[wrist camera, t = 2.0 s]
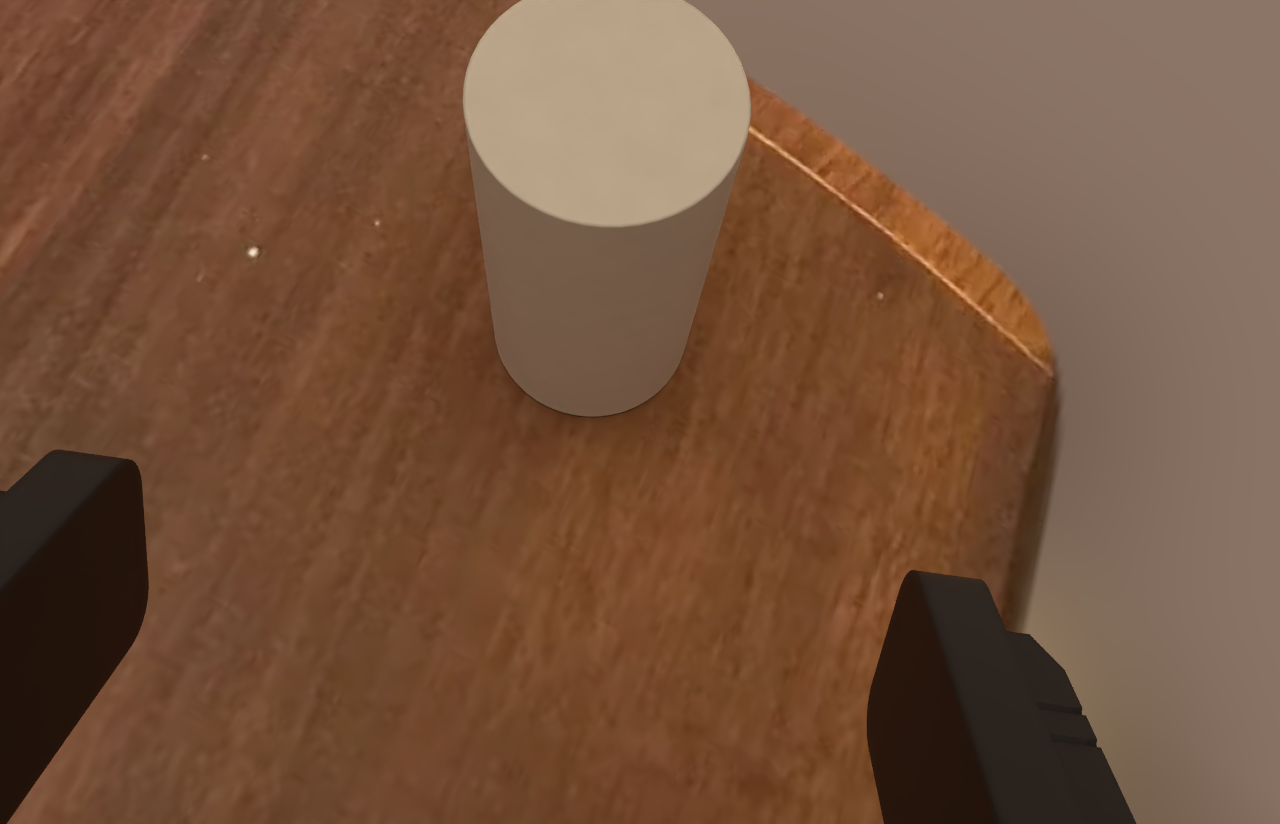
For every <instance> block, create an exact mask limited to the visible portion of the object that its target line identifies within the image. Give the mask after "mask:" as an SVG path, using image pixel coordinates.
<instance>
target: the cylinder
mask: <svg viewBox="0 0 1280 824" xmlns="http://www.w3.org/2000/svg"><path fill="white" fill-rule="evenodd" d="M463 111H464V119H465V126H466V134H467V141H468V148H469V155H470V162H471V170H472V177H473V184H474V191H475V198H476V206H477V213H478V220H479V227H480V234H481V241H482V249H483V256H484V263H485V270H486V277H487V285H488V292H489V299H490V306H491V313H492V321H493V328H494V335H495V342H496V346H497V349H498V353H499V356H500V358H501V360H502V362H503V365H504V366H505V368H506V370H507V371H508V373H509V375H510V376H511V377H512V378H513V380H514V381H515V382H516V383H517V385H518V386H519V387H521V388H522V389H523V390H524V391H525V392H526V393H527V394H528V395H530V396H531V397H532V398H534V399H535V400H537V401H538V402H540V403H542V404H544V405H546V406H547V407H550V408H552V409H555V410H557V411H560V412H564V413H568V414H572V415H578V416H606V415H613V414H617V413H620V412H624V411H627V410H629V409H632V408H634V407H637V406H638V405H640V404H642V403H644V402H645V401H647V400H649V399H650V398H651V397H653V396H654V395H655V394H657V393H658V392H659V391H660V390H661V389H662V388H663V387H664V386H665V385H666V384H667V382H668V381H669V380H670V378H671V377H672V376H673V374H674V373H675V371H676V369H677V367H678V366H679V364H680V361H681V359H682V356H683V353H684V350H685V347H686V343H687V340H688V337H689V333H690V330H691V326H692V323H693V320H694V316H695V313H696V309H697V306H698V303H699V299H700V296H701V292H702V289H703V286H704V282H705V279H706V275H707V272H708V269H709V265H710V262H711V258H712V255H713V252H714V248H715V245H716V241H717V238H718V235H719V231H720V228H721V224H722V221H723V218H724V214H725V211H726V207H727V204H728V201H729V197H730V194H731V190H732V187H733V184H734V180H735V177H736V173H737V170H738V167H739V163H740V160H741V156H742V153H743V150H744V146H745V143H746V139H747V135H748V131H749V127H750V117H751V101H750V91H749V86H748V82H747V77H746V75H745V72H744V69H743V67H742V64H741V62H740V59H739V58H738V56H737V54H736V52H735V50H734V49H733V46H732V45H731V44H730V43H729V41H728V40H727V38H726V37H725V35H724V34H723V33H722V32H721V31H720V30H719V29H718V27H717V26H716V25H715V24H714V23H713V22H712V21H711V20H710V19H709V18H707V17H706V16H705V15H704V14H703V13H701V12H700V11H699V10H698V9H696V8H695V7H693V6H692V5H690V4H689V3H687V2H686V1H684V0H521V1H520V2H518V3H516V4H515V5H513V6H512V7H511V8H510V9H508V10H507V11H506V12H505V13H503V14H502V15H501V16H500V17H499V18H498V19H497V20H496V21H495V22H494V23H493V24H492V25H491V26H490V27H489V29H488V30H487V31H486V33H485V34H484V36H483V37H482V38H481V40H480V41H479V43H478V45H477V47H476V49H475V51H474V52H473V54H472V56H471V59H470V62H469V65H468V68H467V71H466V75H465V80H464V86H463Z"/></svg>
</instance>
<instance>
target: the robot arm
mask: <svg viewBox="0 0 1280 824" xmlns="http://www.w3.org/2000/svg"><path fill="white" fill-rule="evenodd" d="M148 589H149V585H148V567H147V552H146V538H145V523H144V508H143V493H142V481H141V475H140V471H139V469H138V466H137V465H136V463H135V462H134V461H132V460H129V459H123V458H116V457H109V456H101V455H94V454H87V453H80V452H73V451H65V450H53V451H51V452H49V453H48V454H47V455H45V456H44V457H43V458H42V459H41V460H40V461H39V462H38V463H37V464H36V465H35V466H34V467H33V468H31V469H30V470H29V471H28V472H27V473H26V474H25V475H24V476H23V477H22V478H21V479H20V480H19V481H17V482H16V483H15V484H14V485H13V486H12V487H11V488H10V489H9V490H8V491H7V492H6V491H0V824H7V822H8V821H9V819H10V818H11V817H12V815H13V814H14V812H15V811H16V809H17V808H18V807H19V805H20V804H21V802H22V801H23V800H24V798H25V797H26V795H27V794H28V792H29V791H30V790H31V788H32V787H33V785H34V784H35V782H36V781H37V780H38V778H39V777H40V775H41V774H42V773H43V771H44V770H45V768H46V767H47V765H48V764H49V763H50V761H51V760H52V758H53V757H54V755H55V754H56V753H57V751H58V750H59V748H60V747H61V746H62V744H63V743H64V741H65V740H66V738H67V737H68V736H69V734H70V733H71V731H72V730H73V728H74V727H75V726H76V724H77V723H78V721H79V720H80V719H81V717H82V716H83V714H84V713H85V711H86V710H87V709H88V707H89V706H90V704H91V703H92V701H93V700H94V699H95V697H96V696H97V694H98V693H99V692H100V690H101V689H102V687H103V686H104V684H105V683H106V682H107V680H108V679H109V677H110V676H111V674H112V673H113V672H114V670H115V669H116V667H117V666H118V665H119V663H120V662H121V660H122V659H123V657H124V656H125V655H126V653H127V652H128V650H129V649H130V647H131V646H132V644H133V643H134V641H135V639H136V637H137V635H138V633H139V630H140V628H141V625H142V622H143V619H144V615H145V611H146V606H147V600H148ZM867 740H868V747H869V752H870V757H871V762H872V767H873V772H874V777H875V782H876V786H877V791H878V796H879V801H880V806H881V811H882V816H883V820H884V824H1136V822H1135V820H1134V818H1133V815H1132V813H1131V812H1130V809H1129V807H1128V805H1127V803H1126V801H1125V798H1124V796H1123V794H1122V792H1121V790H1120V788H1119V786H1118V783H1117V781H1116V779H1115V777H1114V775H1113V773H1112V771H1111V768H1110V766H1109V764H1108V762H1107V760H1106V758H1105V756H1104V754H1103V751H1102V749H1101V748H1098V747H1097V746H1096V742H1097V739H1096V736H1095V734H1094V732H1093V730H1092V728H1091V726H1090V723H1089V721H1088V719H1087V717H1086V716H1085V715H1082V706H1081V704H1080V702H1079V700H1078V698H1077V696H1076V693H1075V691H1074V689H1073V687H1072V685H1071V683H1070V681H1069V679H1068V676H1067V674H1066V672H1065V670H1064V669H1063V668H1062V667H1061V666H1060V665H1059V664H1058V663H1057V662H1056V661H1055V660H1054V659H1053V658H1052V657H1051V656H1050V655H1049V654H1048V653H1047V652H1046V651H1045V650H1044V649H1043V648H1042V647H1041V646H1040V645H1039V644H1038V643H1037V642H1036V641H1035V640H1034V639H1033V638H1032V637H1031V636H1030V635H1029V634H1022V633H1015V632H1008V631H1006V630H1005V627H1004V625H1003V622H1002V620H1001V617H1000V615H999V613H998V610H997V608H996V605H995V603H994V601H993V598H992V596H991V593H990V591H989V589H988V587H987V585H986V583H985V582H984V581H982V580H980V579H973V578H966V577H959V576H952V575H944V574H937V573H930V572H923V571H916V570H911V571H909V572H908V573H907V575H906V576H905V578H904V580H903V582H902V584H901V587H900V590H899V593H898V597H897V600H896V604H895V607H894V610H893V614H892V617H891V620H890V624H889V627H888V631H887V634H886V637H885V641H884V644H883V648H882V651H881V654H880V658H879V661H878V664H877V668H876V671H875V675H874V678H873V681H872V685H871V689H870V694H869V701H868V710H867Z"/></svg>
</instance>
